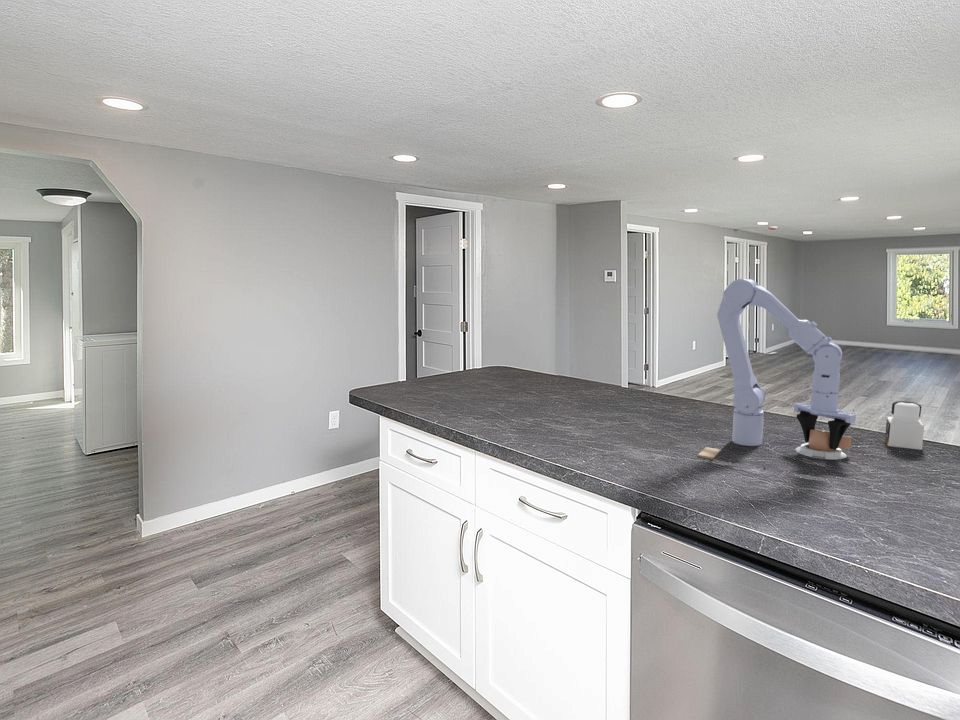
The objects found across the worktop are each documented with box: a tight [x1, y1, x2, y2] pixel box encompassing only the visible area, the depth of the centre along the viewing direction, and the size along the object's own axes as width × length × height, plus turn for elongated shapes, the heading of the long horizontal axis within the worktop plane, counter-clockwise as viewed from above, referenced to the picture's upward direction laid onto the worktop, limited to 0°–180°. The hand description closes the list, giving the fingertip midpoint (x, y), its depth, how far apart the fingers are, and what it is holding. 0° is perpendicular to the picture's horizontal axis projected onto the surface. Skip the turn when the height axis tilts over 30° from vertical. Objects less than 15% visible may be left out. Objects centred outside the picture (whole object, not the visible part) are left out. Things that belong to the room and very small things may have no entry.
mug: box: [807, 428, 852, 452], centre depth 141 cm, size 9×6×5 cm, turn 55°
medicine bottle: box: [884, 400, 925, 451], centre depth 147 cm, size 7×7×12 cm
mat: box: [697, 446, 731, 463], centre depth 143 cm, size 8×8×1 cm
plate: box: [795, 442, 847, 460], centre depth 142 cm, size 11×11×2 cm
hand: (821, 444), depth 141 cm, fingers closed on mug, 6 cm apart
